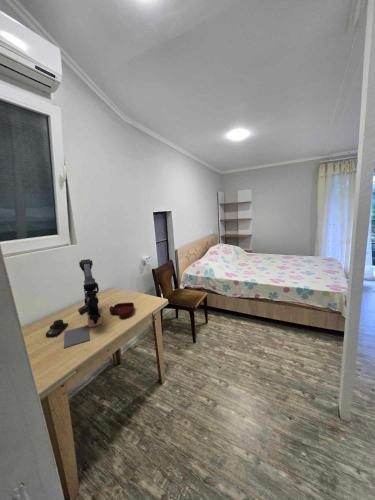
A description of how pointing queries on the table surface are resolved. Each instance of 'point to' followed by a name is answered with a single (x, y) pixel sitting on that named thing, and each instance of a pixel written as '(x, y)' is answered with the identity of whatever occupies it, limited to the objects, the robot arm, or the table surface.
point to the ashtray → (122, 309)
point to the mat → (76, 336)
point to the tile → (91, 322)
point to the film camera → (56, 328)
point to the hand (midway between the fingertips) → (95, 322)
